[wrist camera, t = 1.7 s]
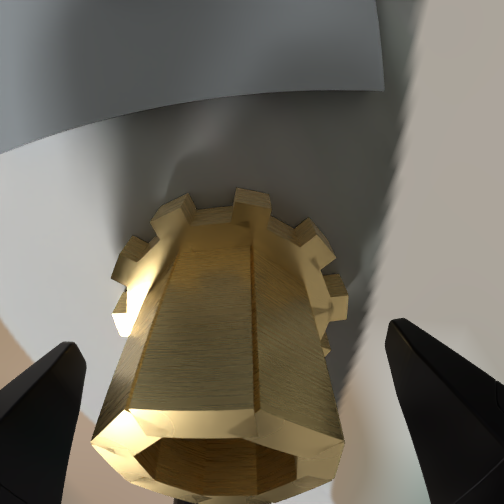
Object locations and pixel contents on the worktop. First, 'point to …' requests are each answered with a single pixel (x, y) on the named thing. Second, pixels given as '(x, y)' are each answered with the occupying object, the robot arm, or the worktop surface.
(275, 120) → the worktop surface
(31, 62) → the plate
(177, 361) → the planet gear
